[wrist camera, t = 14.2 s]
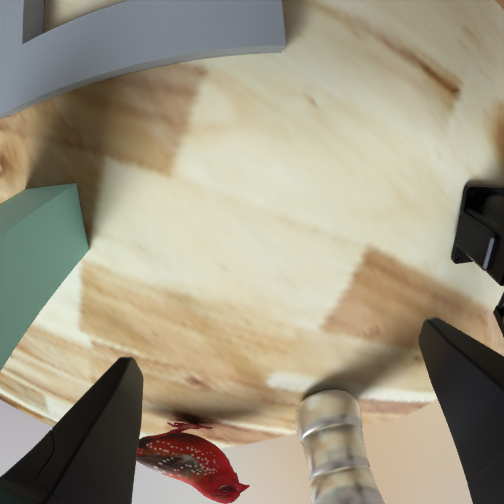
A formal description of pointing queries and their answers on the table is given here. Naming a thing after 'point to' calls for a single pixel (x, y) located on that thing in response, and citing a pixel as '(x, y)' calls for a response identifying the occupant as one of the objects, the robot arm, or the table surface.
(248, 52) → the collar board
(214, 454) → the decorative bird figurine
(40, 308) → the teal peg
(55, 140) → the table surface
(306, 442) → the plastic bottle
